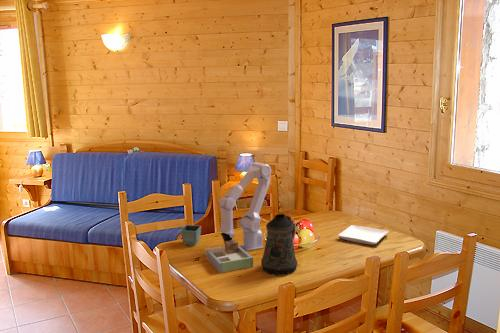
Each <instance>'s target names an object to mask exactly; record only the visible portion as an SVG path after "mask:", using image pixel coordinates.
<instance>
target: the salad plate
mask: <svg viewBox="0 0 500 333" xmlns="http://www.w3.org/2000/svg"><path fill="white" fill-rule="evenodd" d="M388 233H389V230H386V229H379V228H374V227H368V226H362V225H361V226H360V225H355V224H352V225H349V226H348V227H347V228H346V229H344V230H343V231H341V232H340V233H338V235H337V236H338V237H339V238H340V239H342V240H346V241H348V242H353V243H357V244H365V245H369V246H370V245H371V246H374V245H377V244H378V242H379V241H380V240H381V239H383V238H384V237H385V236H386V235H387V234H388Z"/></svg>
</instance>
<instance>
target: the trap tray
mask: <svg viewBox="0 0 500 333" xmlns="http://www.w3.org/2000/svg"><path fill="white" fill-rule="evenodd" d="M204 254H205V255H206V260H208V262H209V263H210V264H211V265H212V267H214V269H215V270H217V271H218V272H219V273H220V274H222V273H226V272H232V271H238V270H242V269H248V268H253V267H254V257H253V256H252V255H251V254H249V253H248V252H247V251H246V250H245V249H244V248H243V247H241V245H239V244H238V253H232V254H228V253H227V252H226V251H225V245H220V246H215V247H214V246H213V247H208V248H207V247H206V248H204Z"/></svg>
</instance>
